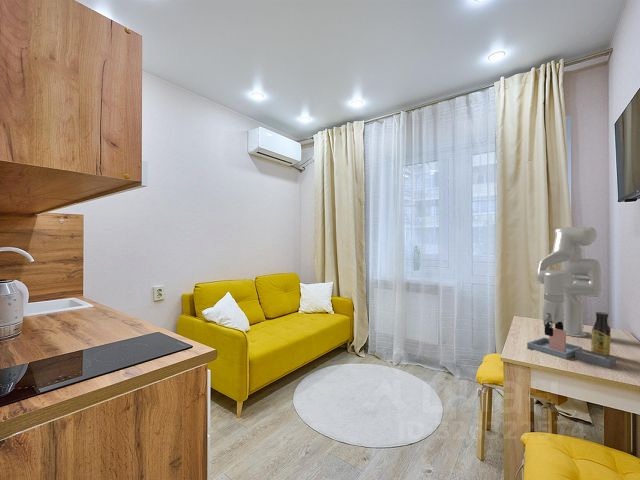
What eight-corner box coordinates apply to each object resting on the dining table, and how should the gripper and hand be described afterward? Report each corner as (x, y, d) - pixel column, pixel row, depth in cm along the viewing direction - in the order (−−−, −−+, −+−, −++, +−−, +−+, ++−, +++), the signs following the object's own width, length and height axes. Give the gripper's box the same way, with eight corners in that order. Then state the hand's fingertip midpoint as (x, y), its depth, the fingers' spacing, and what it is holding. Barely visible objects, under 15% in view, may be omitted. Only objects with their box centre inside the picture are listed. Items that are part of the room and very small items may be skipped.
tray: (543, 343, 150) (543, 337, 150) (582, 353, 136) (582, 347, 136) (527, 348, 143) (527, 342, 143) (565, 360, 129) (565, 353, 129)
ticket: (550, 347, 141) (550, 327, 141) (566, 352, 136) (565, 330, 136) (549, 348, 141) (549, 327, 140) (564, 352, 135) (564, 331, 135)
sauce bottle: (587, 353, 137) (587, 310, 136) (599, 352, 137) (599, 310, 137) (602, 359, 130) (602, 314, 130) (614, 358, 131) (614, 314, 130)
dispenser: (582, 356, 133) (582, 348, 133) (615, 366, 123) (615, 356, 123) (574, 359, 129) (574, 351, 129) (608, 369, 120) (608, 360, 120)
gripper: (553, 294, 147) (554, 328, 147) (535, 298, 139) (535, 334, 139) (572, 297, 140) (572, 333, 140) (554, 301, 132) (554, 339, 132)
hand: (554, 333), depth 139 cm, fingers open, 9 cm apart
